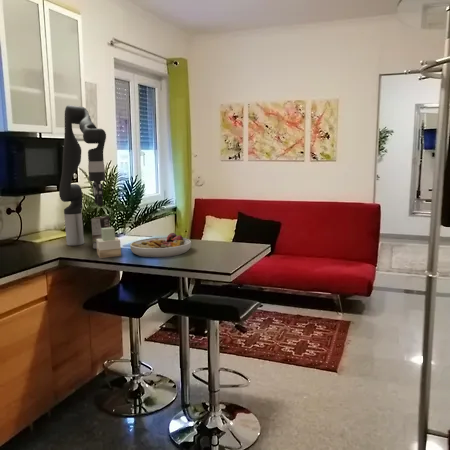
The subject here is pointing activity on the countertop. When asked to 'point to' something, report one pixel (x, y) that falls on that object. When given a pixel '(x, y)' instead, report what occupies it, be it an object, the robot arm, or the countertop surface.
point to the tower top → (108, 244)
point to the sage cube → (108, 233)
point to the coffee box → (99, 228)
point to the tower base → (109, 253)
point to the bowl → (161, 246)
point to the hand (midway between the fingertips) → (98, 204)
